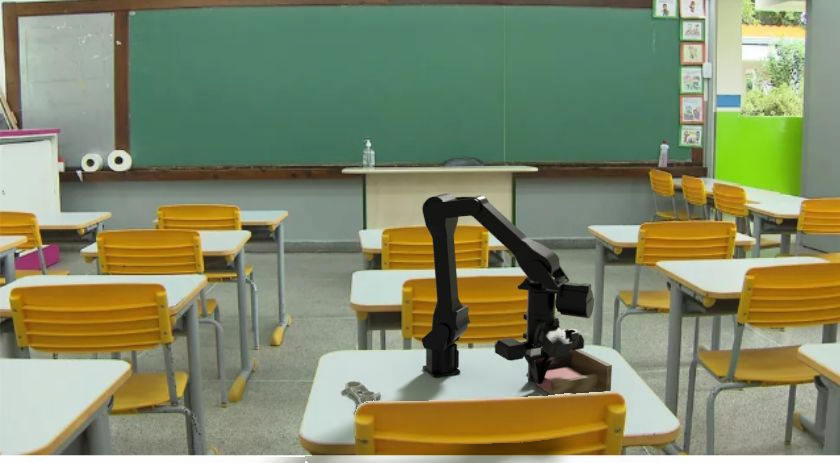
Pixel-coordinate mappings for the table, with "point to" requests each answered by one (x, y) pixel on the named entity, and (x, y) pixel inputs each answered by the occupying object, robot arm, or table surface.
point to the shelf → (585, 364)
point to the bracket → (358, 387)
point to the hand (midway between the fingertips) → (538, 383)
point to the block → (557, 376)
